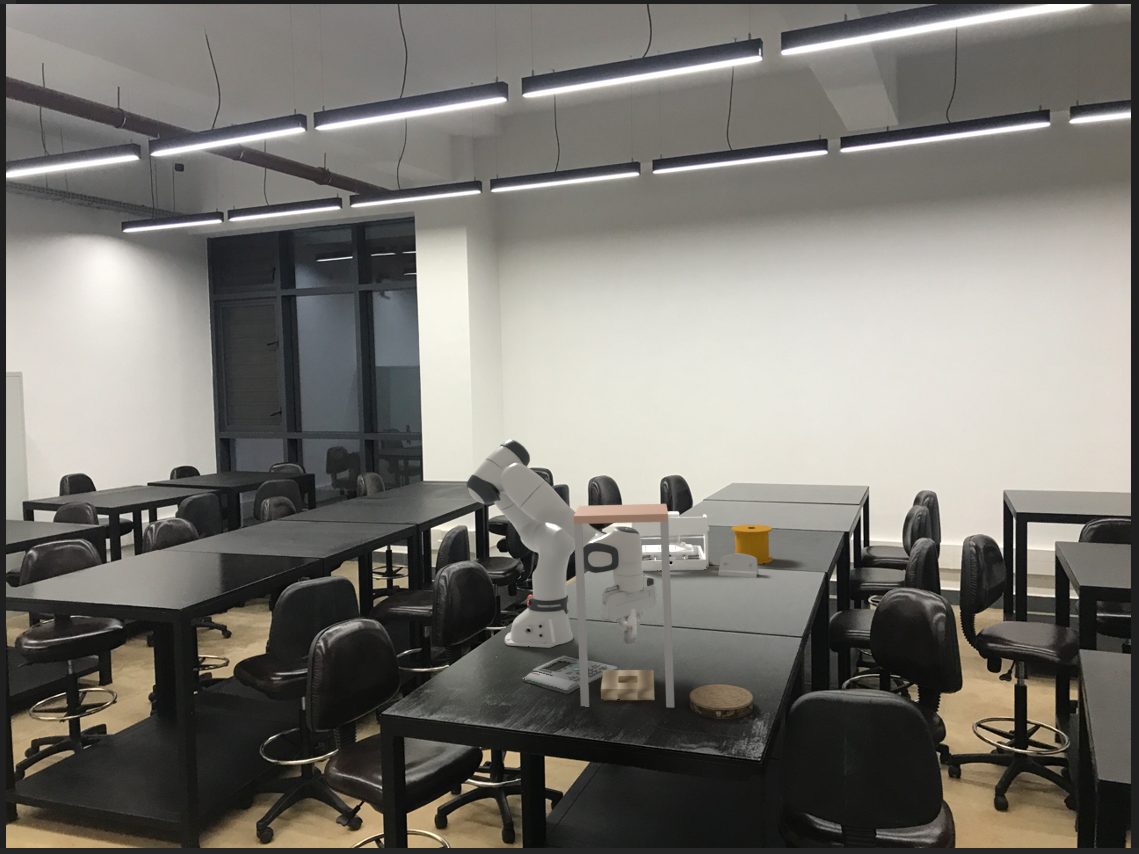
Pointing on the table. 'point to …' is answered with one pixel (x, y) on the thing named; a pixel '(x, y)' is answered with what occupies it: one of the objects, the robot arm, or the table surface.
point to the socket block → (627, 685)
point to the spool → (753, 541)
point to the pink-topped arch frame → (584, 517)
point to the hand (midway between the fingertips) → (629, 629)
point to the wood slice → (721, 701)
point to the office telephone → (567, 673)
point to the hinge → (738, 565)
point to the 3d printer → (676, 542)
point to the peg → (630, 628)
